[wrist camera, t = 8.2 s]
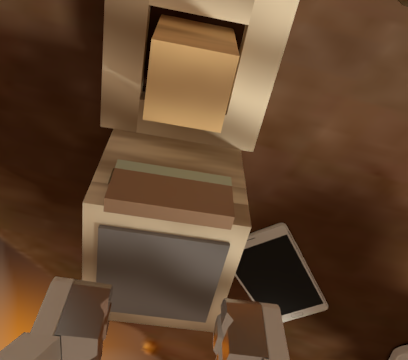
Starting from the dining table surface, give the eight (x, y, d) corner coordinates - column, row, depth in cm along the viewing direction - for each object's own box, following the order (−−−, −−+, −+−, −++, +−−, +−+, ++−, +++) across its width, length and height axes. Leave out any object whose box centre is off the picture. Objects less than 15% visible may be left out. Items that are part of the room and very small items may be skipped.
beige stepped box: (222, 237, 38) (227, 337, 29) (100, 220, 37) (66, 319, 28) (308, -52, 24) (369, -27, 15) (113, -96, 23) (53, -97, 14)
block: (218, 95, 29) (220, 132, 25) (153, 83, 29) (142, 119, 24) (233, 28, 27) (239, 56, 22) (161, 13, 26) (151, 38, 21)
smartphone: (269, 327, 46) (214, 248, 39) (268, 322, 47) (214, 243, 39) (330, 309, 44) (285, 222, 37) (329, 305, 45) (284, 218, 37)
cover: (194, 307, 33) (193, 350, 30) (108, 296, 32) (97, 340, 29) (231, 177, 25) (234, 217, 22) (117, 159, 24) (104, 198, 21)
